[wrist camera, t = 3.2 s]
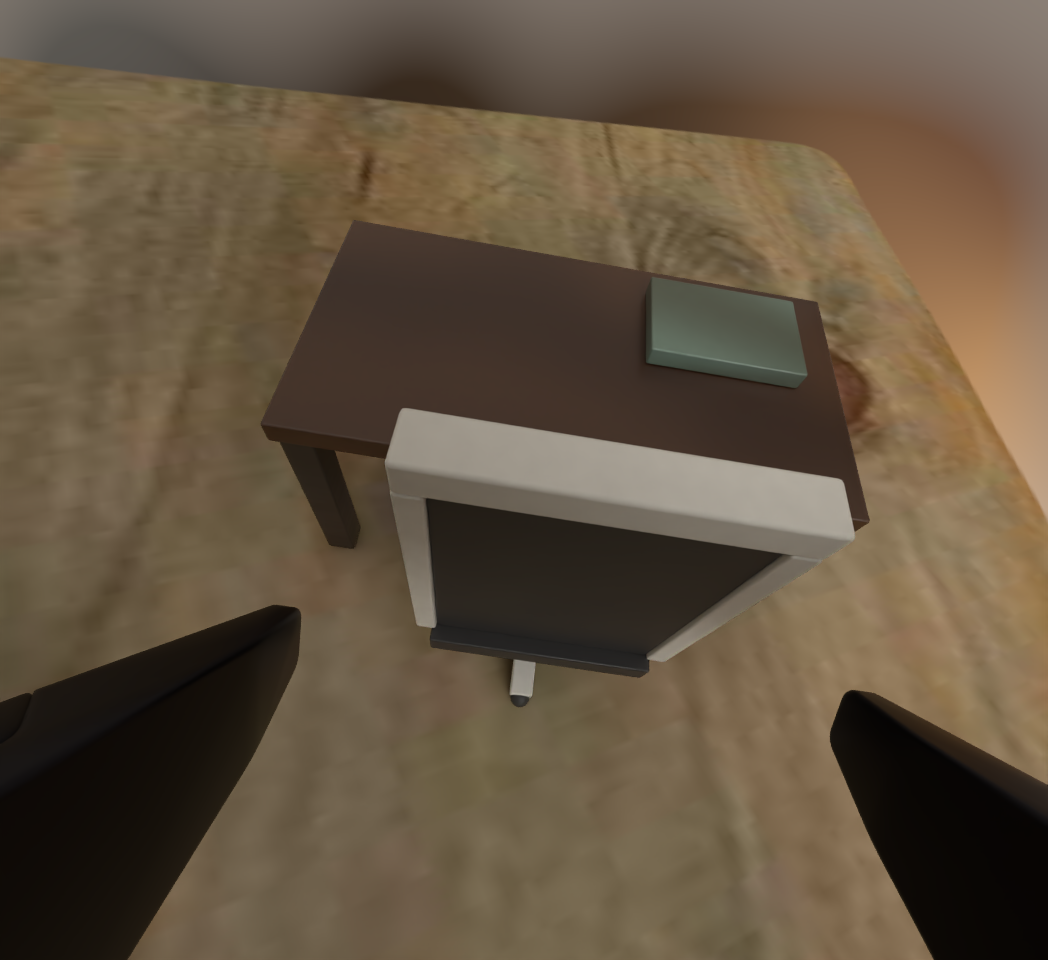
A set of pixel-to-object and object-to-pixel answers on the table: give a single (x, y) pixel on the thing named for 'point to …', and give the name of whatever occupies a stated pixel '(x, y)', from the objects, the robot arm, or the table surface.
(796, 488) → the white black boxy frame
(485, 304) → the desk
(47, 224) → the table surface
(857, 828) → the table surface
